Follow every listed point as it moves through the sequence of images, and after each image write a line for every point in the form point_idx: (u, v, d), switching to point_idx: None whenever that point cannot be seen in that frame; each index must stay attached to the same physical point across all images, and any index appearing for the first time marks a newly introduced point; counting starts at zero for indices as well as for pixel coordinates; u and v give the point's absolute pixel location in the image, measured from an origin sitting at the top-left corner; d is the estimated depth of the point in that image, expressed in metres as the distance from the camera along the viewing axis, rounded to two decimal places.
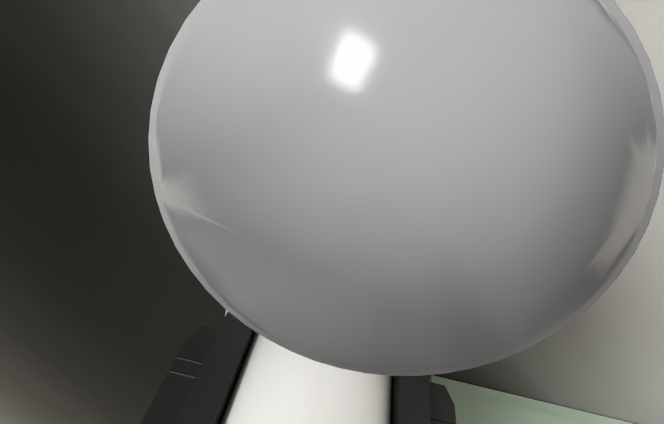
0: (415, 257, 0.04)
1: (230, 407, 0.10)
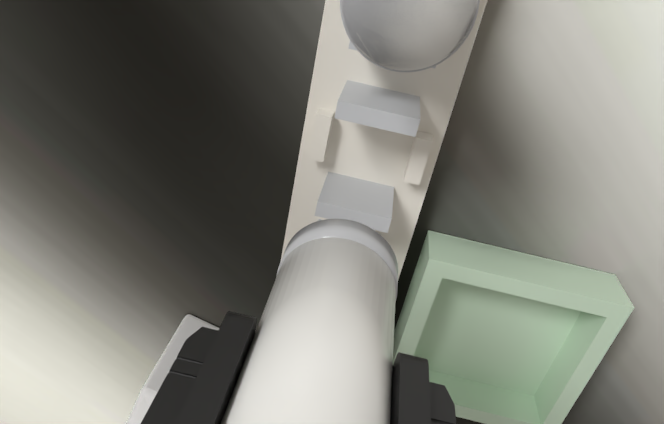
0: (415, 24, 0.14)
1: (231, 406, 0.11)
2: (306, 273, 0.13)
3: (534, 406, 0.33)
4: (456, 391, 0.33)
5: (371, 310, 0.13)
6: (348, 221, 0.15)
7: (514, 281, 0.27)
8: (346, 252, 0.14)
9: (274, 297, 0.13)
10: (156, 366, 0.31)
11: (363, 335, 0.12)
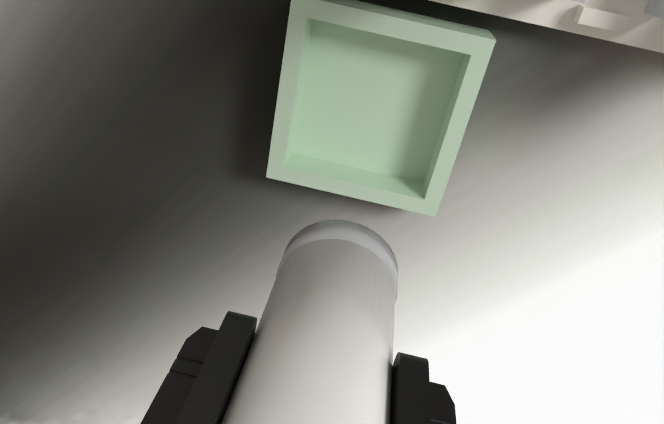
0: None
1: (230, 408, 0.10)
2: (305, 275, 0.13)
3: (288, 155, 0.33)
4: (300, 79, 0.31)
5: (370, 312, 0.13)
6: (348, 223, 0.15)
7: (465, 122, 0.29)
8: (346, 253, 0.14)
9: (273, 299, 0.13)
10: None
11: (362, 337, 0.12)
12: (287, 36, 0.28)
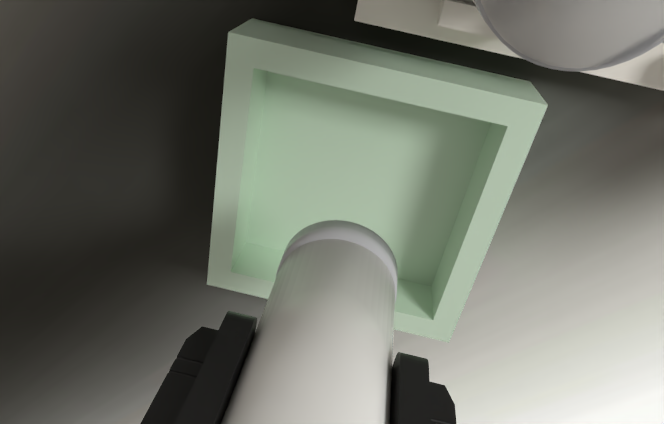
0: None
1: (230, 409, 0.10)
2: (305, 275, 0.13)
3: (240, 250, 0.24)
4: (250, 151, 0.21)
5: (370, 312, 0.13)
6: (348, 223, 0.15)
7: (495, 221, 0.20)
8: (345, 253, 0.14)
9: (273, 299, 0.13)
10: None
11: (362, 337, 0.12)
12: (225, 94, 0.19)
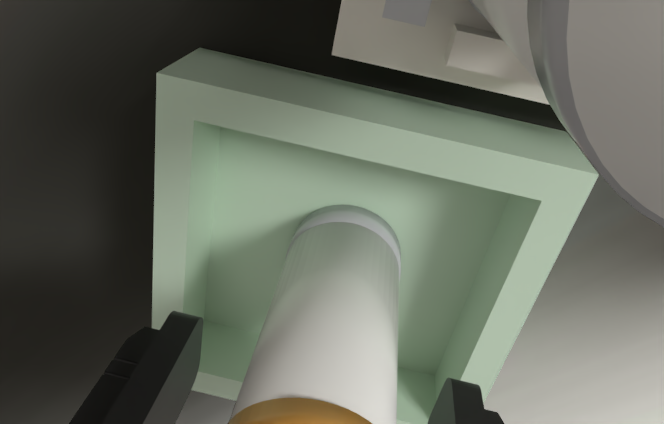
0: None
1: (249, 374, 0.11)
2: (315, 254, 0.14)
3: None
4: (200, 220, 0.16)
5: (377, 288, 0.13)
6: (353, 207, 0.16)
7: (521, 318, 0.15)
8: (353, 235, 0.15)
9: (285, 277, 0.14)
10: None
11: (371, 310, 0.13)
12: (158, 154, 0.14)
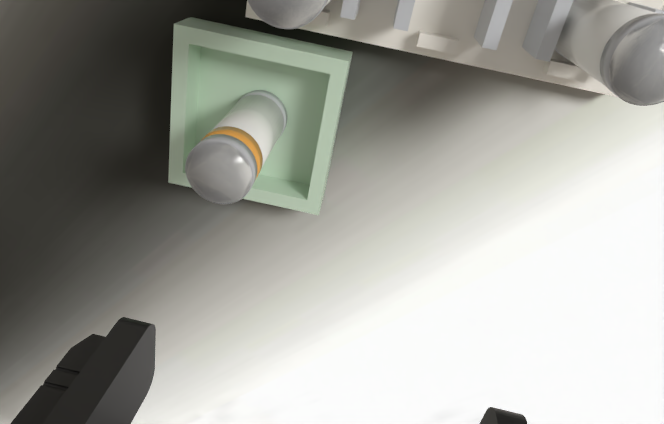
0: (639, 68, 0.22)
1: None
2: (241, 102, 0.33)
3: None
4: (191, 95, 0.35)
5: (265, 112, 0.33)
6: (263, 90, 0.35)
7: (333, 132, 0.34)
8: (259, 97, 0.34)
9: None
10: None
11: (260, 116, 0.32)
12: (173, 59, 0.33)
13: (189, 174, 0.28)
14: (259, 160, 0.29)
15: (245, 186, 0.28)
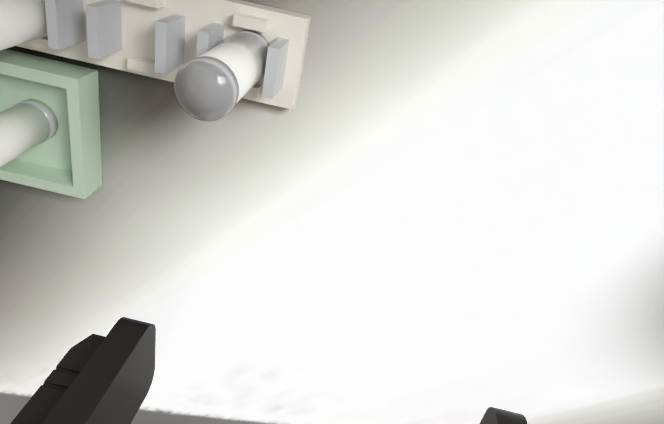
0: (195, 95, 0.31)
1: None
2: None
3: None
4: None
5: (19, 118, 0.42)
6: (33, 99, 0.45)
7: (79, 133, 0.43)
8: (23, 105, 0.43)
9: None
10: None
11: (9, 121, 0.41)
12: None
13: None
14: None
15: None
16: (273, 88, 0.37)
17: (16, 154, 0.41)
